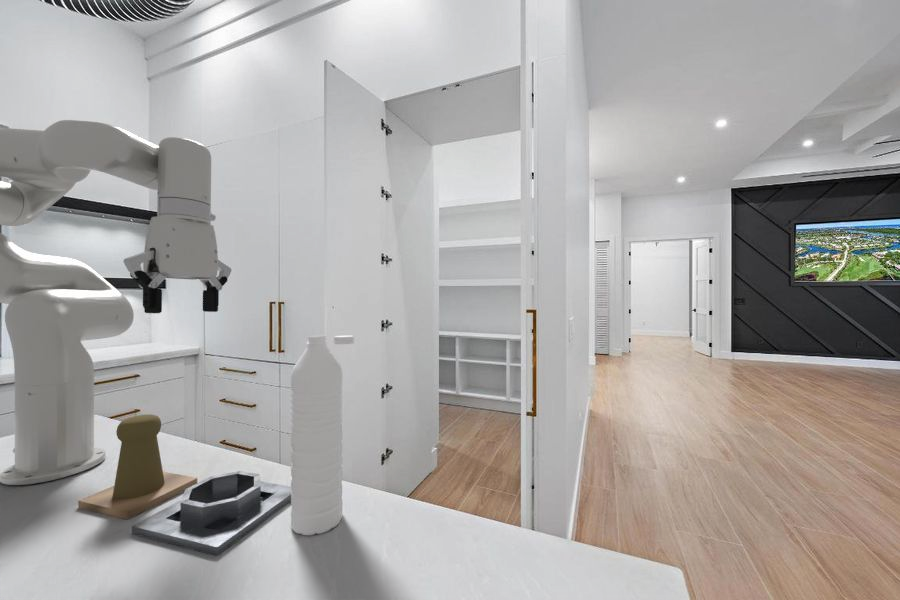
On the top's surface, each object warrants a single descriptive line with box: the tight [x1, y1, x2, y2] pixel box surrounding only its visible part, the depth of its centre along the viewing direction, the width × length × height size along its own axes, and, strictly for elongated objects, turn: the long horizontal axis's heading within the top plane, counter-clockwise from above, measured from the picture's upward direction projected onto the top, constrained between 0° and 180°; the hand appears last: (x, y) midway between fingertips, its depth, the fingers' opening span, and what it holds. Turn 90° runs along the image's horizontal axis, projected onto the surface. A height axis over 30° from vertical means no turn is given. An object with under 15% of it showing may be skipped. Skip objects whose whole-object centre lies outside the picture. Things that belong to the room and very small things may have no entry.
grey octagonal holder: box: [131, 470, 292, 557], centre depth 51 cm, size 14×14×4 cm
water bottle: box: [290, 334, 355, 536], centre depth 49 cm, size 9×6×25 cm
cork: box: [113, 413, 165, 500], centre depth 56 cm, size 6×6×11 cm
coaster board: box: [77, 471, 198, 520], centre depth 56 cm, size 10×10×1 cm
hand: (183, 312), depth 64 cm, fingers open, 9 cm apart
